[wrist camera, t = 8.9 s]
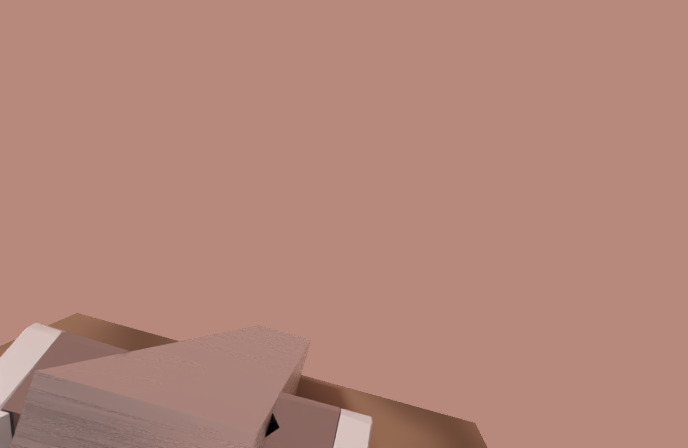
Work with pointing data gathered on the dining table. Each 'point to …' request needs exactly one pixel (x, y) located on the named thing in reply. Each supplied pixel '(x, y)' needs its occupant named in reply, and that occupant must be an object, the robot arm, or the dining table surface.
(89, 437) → the bar
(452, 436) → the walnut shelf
